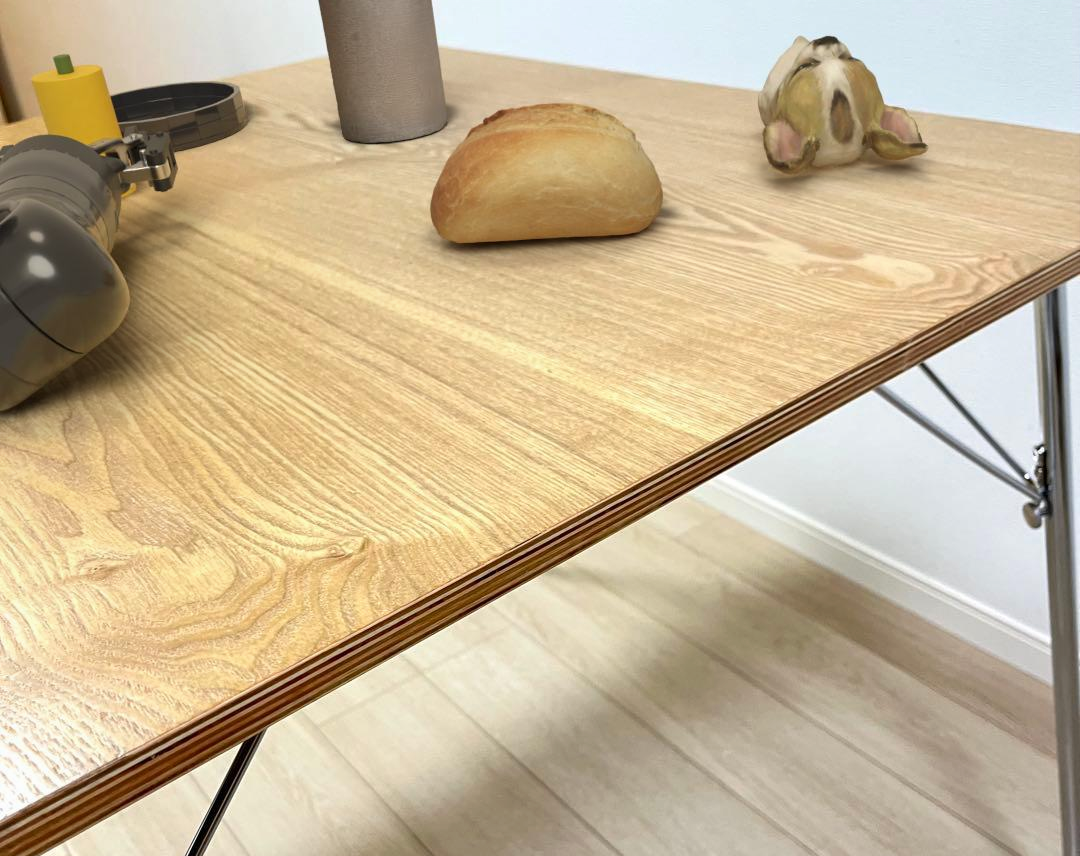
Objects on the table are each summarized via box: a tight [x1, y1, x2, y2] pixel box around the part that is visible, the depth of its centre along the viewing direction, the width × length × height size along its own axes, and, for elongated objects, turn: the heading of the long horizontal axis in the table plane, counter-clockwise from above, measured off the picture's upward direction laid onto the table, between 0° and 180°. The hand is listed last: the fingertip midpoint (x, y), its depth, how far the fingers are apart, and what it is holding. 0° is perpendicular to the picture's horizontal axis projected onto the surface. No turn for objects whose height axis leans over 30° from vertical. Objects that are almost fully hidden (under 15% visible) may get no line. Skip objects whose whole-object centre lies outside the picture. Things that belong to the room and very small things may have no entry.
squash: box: [30, 53, 137, 198], centre depth 89 cm, size 5×5×11 cm
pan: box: [110, 80, 248, 159], centre depth 109 cm, size 16×16×3 cm
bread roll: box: [429, 102, 664, 244], centre depth 73 cm, size 10×15×8 cm, turn 93°
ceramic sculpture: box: [757, 35, 929, 175], centre depth 80 cm, size 11×9×15 cm
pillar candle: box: [317, 0, 448, 144], centre depth 99 cm, size 10×10×15 cm
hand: (74, 149), depth 83 cm, fingers open, 8 cm apart
